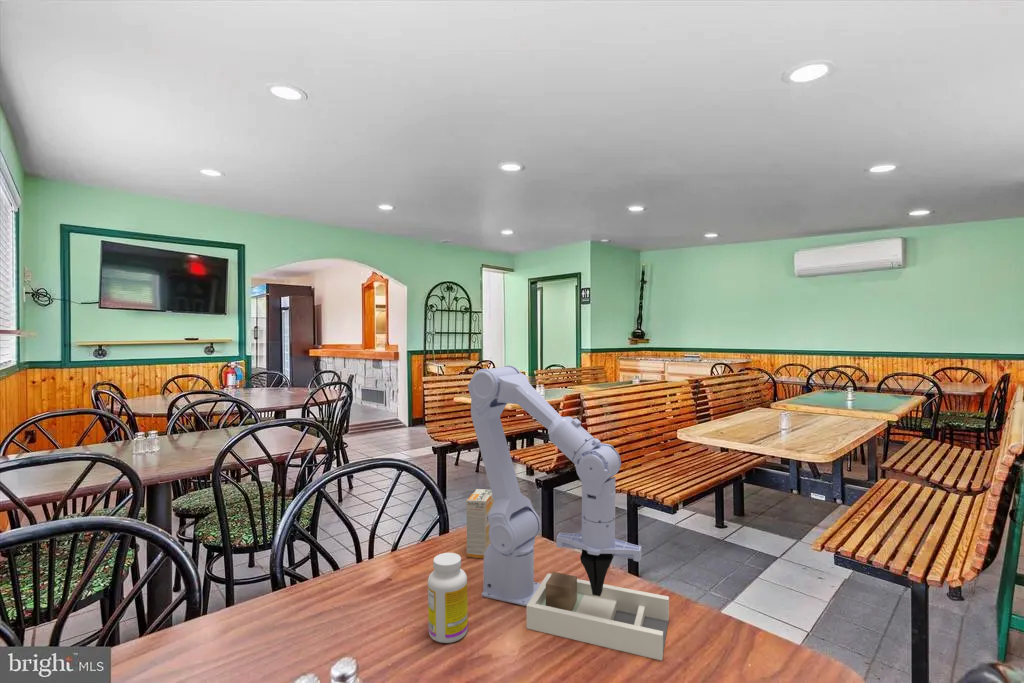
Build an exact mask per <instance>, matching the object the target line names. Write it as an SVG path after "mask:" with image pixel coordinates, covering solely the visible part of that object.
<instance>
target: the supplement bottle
mask: <svg viewBox="0 0 1024 683" xmlns="http://www.w3.org/2000/svg"><path fill="white" fill-rule="evenodd" d="M461 566H462V557H461V555H460V554H458V553H455V552H443V553H440V554H437V555H436V556H434V558H433V565H432V568H433V571H432V572H431V573H430V574H429V576H428V577H427V578H428V579H427V609H428V610H427V613H428V614H427V617H428V619H427V620H428V621H427V622H428V624H427V625H428V634H429V637H430V638H431V639H432V640H434V641H435V642H437V643H442V644H451V643H455V642H457V641H459V640H461V639H463V638H464V637H465V636H466V634H467V632H468V626H469V622H468V621H469V619H468V613H469V612H468V611H469V610H468V609H469V608H468V576H467V573H466V572H465V571H464V570H463V569H462V568H461Z"/></svg>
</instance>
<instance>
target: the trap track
mask: <svg viewBox="0 0 1024 683" xmlns="http://www.w3.org/2000/svg"><path fill="white" fill-rule="evenodd" d="M551 575H552V573H547V574H546V575H545V577H544V579H543V580H542V581H541V583H540V584H541V585H540V586H539V588H538V589H537V591H536V592H535V594H534V595H533V597H532V598H531V600H530V601H529V603H528V604H527V606H526V629H527V630H532V631H535V632H541V633H545V634H549V635H553V636H557V637H562V638H565V639H569V640H574V641H578V642H582V643H587V644H591V645H595V646H598V647H599V646H600V647H603V648H607V649H612V650H615V651H619V652H624V653H628V654H633V655H635V656H640V657H645V658H650V659H654V660H656V661H663V658H664V650H665V644H666V639H667V632H668V626H669V618H670V613H669V612H670V611H669V610H670V597H669V596H668V595H662V594H658V593H651V592H647V591H641V590H636V589H632V588H627V587H621V586H617V585H611V584H605V583H604V584H603V591H602V593H601V596H596V595H592V589H591V584H590V581H589V580H584V579H579V578H577V601H576V604H575V606H574V608H573V610H572V611H568V610H563V609H558V608H554V607H549V606H546V583H547V581H548V579H549V578H550V576H551Z"/></svg>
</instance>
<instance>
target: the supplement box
mask: <svg viewBox="0 0 1024 683" xmlns="http://www.w3.org/2000/svg"><path fill="white" fill-rule="evenodd" d="M465 503H466V504H465V505H466V506H465V507H466V557H467V558H473V559H475V558H476V559H483V560H484V555H485V552H486V549H487V547H488V545H489V544H490V543H491V542H490V538H489V520H488V514H489V512H490V510H491V508H492V505H493V503H494V500H493V496H492V492H491V489H487V488H485V489H481V488H476V489H475V490H474V491H473V492H472V493H471V495H470V496H468V497H467V499H466V502H465Z"/></svg>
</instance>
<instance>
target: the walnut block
mask: <svg viewBox="0 0 1024 683" xmlns="http://www.w3.org/2000/svg"><path fill="white" fill-rule="evenodd" d="M551 574H552V575H551V576H550V578H549V579H548V581H547V583H546V606H549V607H554V608H558V609H563V610H568V611H572V610H573V608H574V606H575V604H576V601H577V579H578V576H577V575H571V574H566V573H560V572H555V571H553V572H552V573H551Z"/></svg>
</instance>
